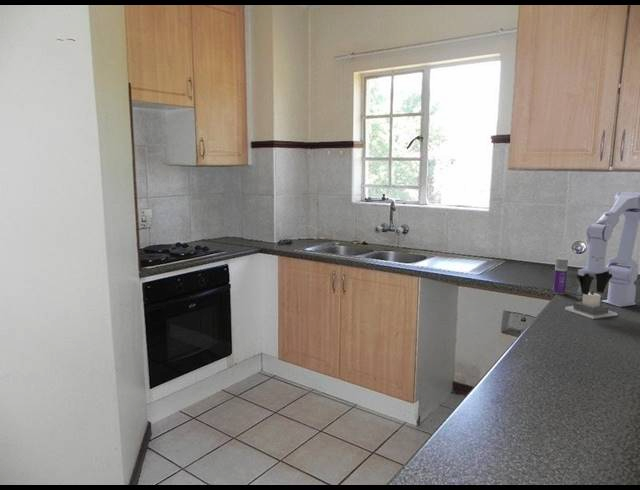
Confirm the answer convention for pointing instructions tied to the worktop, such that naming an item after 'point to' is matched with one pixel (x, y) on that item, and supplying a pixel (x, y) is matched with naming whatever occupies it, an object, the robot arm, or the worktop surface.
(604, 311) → the socket plate
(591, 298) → the plug
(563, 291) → the container
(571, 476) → the worktop surface
